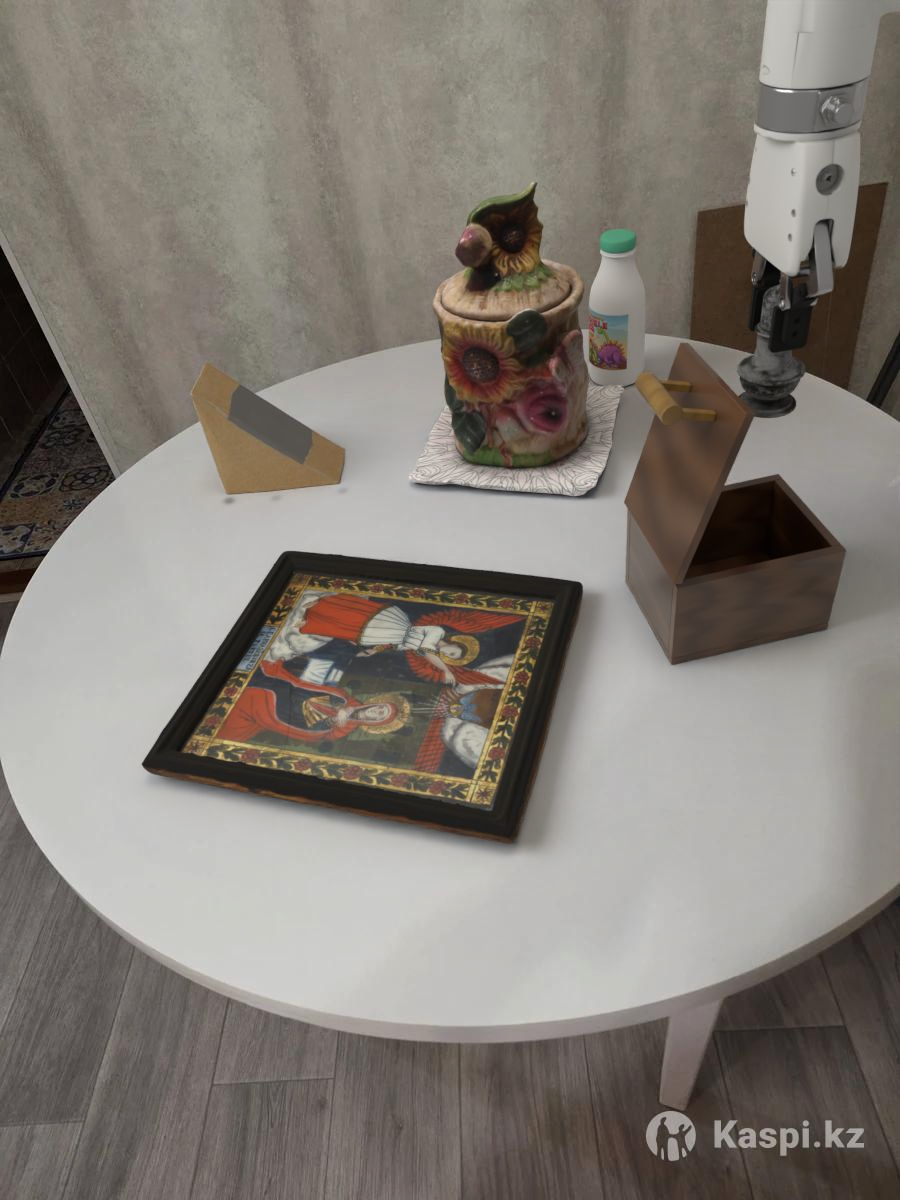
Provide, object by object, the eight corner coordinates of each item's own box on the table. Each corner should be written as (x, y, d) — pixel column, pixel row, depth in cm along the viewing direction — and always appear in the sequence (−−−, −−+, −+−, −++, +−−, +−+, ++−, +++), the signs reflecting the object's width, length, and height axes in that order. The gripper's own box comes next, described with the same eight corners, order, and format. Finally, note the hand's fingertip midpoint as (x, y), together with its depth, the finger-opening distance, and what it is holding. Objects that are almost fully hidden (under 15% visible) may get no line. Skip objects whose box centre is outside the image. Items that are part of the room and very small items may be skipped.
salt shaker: (804, 418, 78) (827, 288, 70) (736, 420, 79) (751, 292, 71) (794, 386, 82) (815, 260, 74) (729, 388, 83) (743, 264, 75)
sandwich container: (340, 484, 112) (314, 379, 102) (225, 495, 113) (188, 393, 103) (346, 448, 118) (322, 346, 108) (237, 459, 120) (204, 359, 110)
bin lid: (688, 342, 75) (629, 337, 74) (755, 414, 65) (689, 409, 64) (630, 502, 85) (578, 500, 84) (681, 584, 76) (623, 583, 74)
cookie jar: (455, 391, 126) (426, 156, 105) (625, 397, 120) (631, 146, 98) (404, 490, 109) (356, 232, 88) (599, 503, 103) (599, 228, 81)
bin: (766, 549, 93) (778, 473, 87) (827, 629, 84) (846, 550, 77) (625, 581, 92) (627, 506, 85) (671, 665, 83) (677, 588, 76)
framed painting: (585, 570, 94) (585, 549, 92) (560, 857, 69) (559, 838, 67) (259, 562, 102) (252, 544, 100) (130, 819, 77) (117, 800, 75)
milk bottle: (619, 357, 128) (622, 218, 115) (654, 375, 123) (661, 233, 110) (578, 374, 126) (575, 235, 113) (611, 394, 121) (613, 250, 107)
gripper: (920, 124, 58) (864, 374, 70) (808, 74, 70) (777, 294, 82) (811, 142, 58) (774, 390, 70) (717, 89, 70) (700, 307, 82)
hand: (776, 336), depth 76 cm, fingers closed on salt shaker, 3 cm apart
